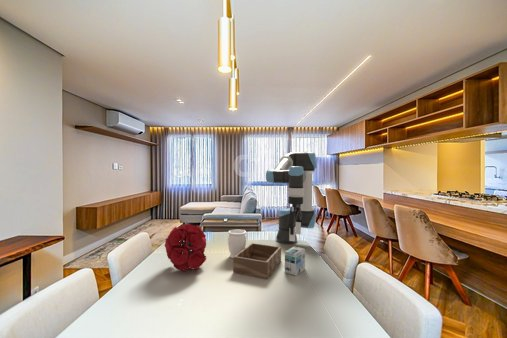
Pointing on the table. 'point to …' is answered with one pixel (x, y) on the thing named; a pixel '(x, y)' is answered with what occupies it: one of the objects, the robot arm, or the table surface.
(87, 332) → the table surface
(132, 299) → the table surface
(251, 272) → the walnut crate
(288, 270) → the light bulb box
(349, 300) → the table surface
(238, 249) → the jar
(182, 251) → the bouquet
